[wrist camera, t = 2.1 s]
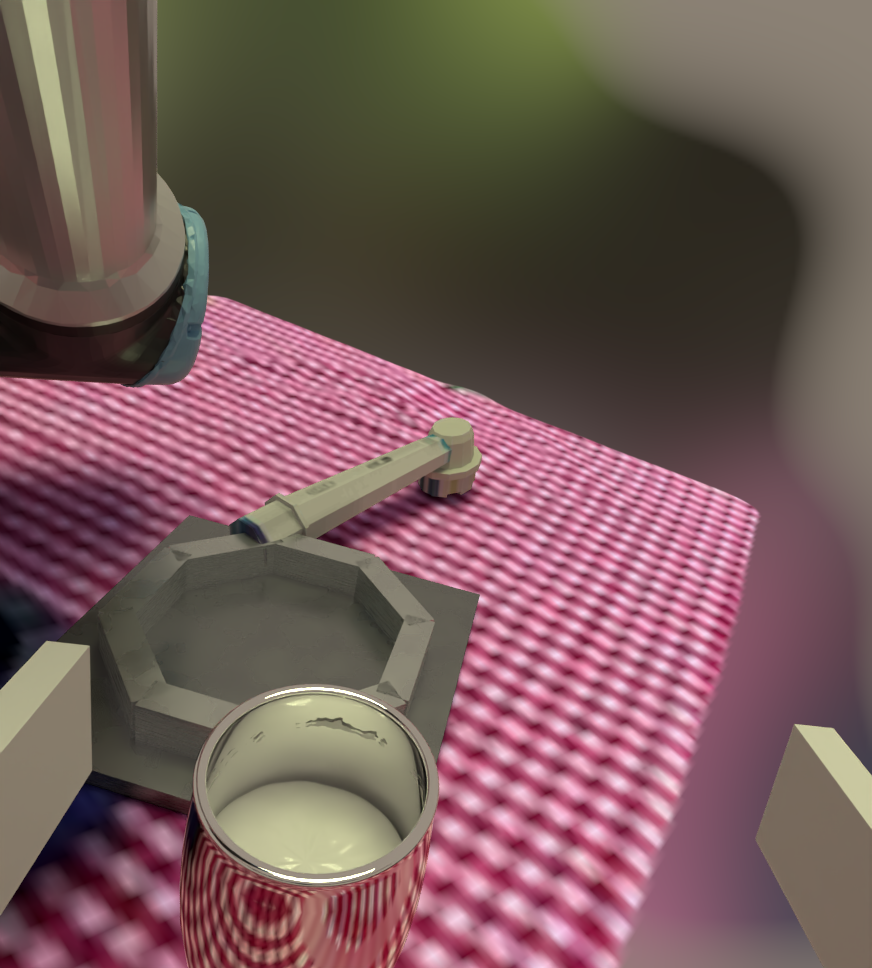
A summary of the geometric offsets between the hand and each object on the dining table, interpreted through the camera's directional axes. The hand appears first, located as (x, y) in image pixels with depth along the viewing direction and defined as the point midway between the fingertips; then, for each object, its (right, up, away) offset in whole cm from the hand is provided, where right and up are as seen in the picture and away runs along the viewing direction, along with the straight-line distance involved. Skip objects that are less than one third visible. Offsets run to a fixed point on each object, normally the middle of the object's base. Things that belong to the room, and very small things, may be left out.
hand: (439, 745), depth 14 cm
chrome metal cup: (-6, -16, +13) cm, 21 cm away
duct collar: (-10, -6, +30) cm, 33 cm away
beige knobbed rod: (-5, +2, +46) cm, 47 cm away
